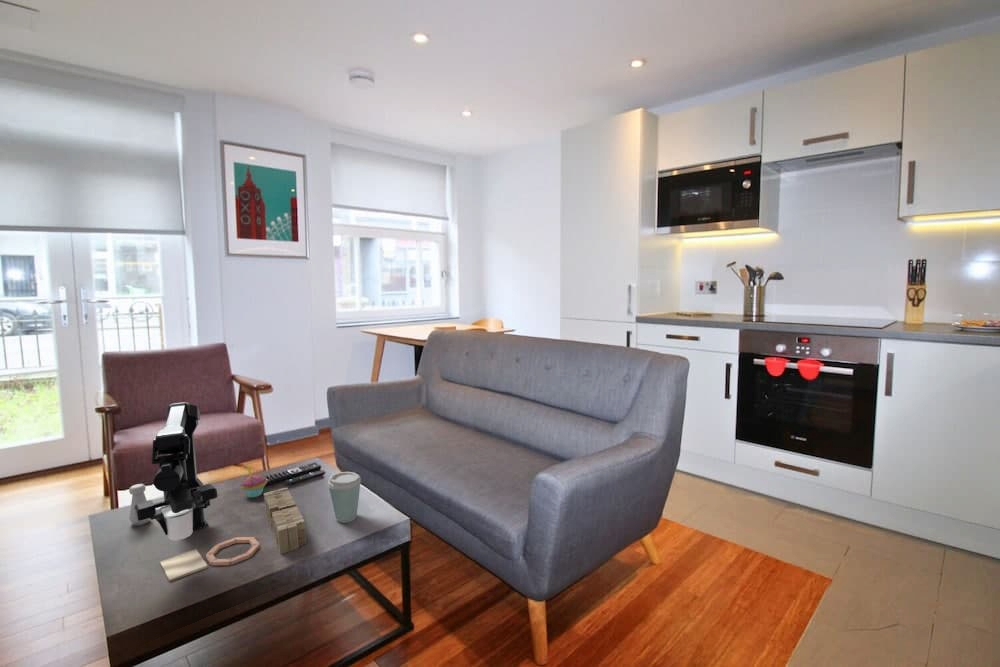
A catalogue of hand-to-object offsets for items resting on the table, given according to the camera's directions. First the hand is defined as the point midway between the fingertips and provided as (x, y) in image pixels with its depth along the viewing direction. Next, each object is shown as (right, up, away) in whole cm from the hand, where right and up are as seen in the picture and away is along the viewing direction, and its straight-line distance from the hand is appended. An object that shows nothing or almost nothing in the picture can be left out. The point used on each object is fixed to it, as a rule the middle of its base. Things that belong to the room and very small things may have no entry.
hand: (180, 529), depth 137 cm
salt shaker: (-30, -8, +26) cm, 41 cm away
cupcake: (-2, -5, +45) cm, 46 cm away
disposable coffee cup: (+39, -7, +26) cm, 47 cm away
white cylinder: (0, -2, 0) cm, 2 cm away
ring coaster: (+11, -10, +7) cm, 16 cm away
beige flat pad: (0, -11, +1) cm, 11 cm away
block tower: (+21, -8, +20) cm, 30 cm away
